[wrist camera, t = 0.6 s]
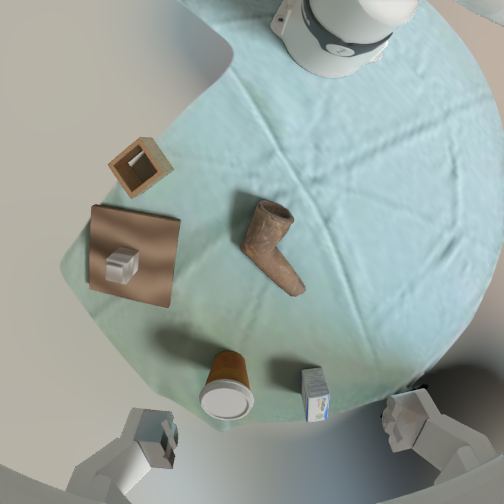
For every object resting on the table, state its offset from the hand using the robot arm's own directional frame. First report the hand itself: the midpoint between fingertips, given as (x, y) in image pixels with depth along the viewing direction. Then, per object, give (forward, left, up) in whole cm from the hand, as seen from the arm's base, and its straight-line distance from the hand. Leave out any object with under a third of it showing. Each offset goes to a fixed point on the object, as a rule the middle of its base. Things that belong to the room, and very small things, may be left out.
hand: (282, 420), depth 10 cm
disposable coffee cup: (+32, +1, -42) cm, 53 cm away
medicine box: (+34, +19, -42) cm, 58 cm away
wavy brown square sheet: (+13, -20, -42) cm, 48 cm away
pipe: (+6, +5, -43) cm, 43 cm away
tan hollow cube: (-3, -19, -42) cm, 46 cm away
